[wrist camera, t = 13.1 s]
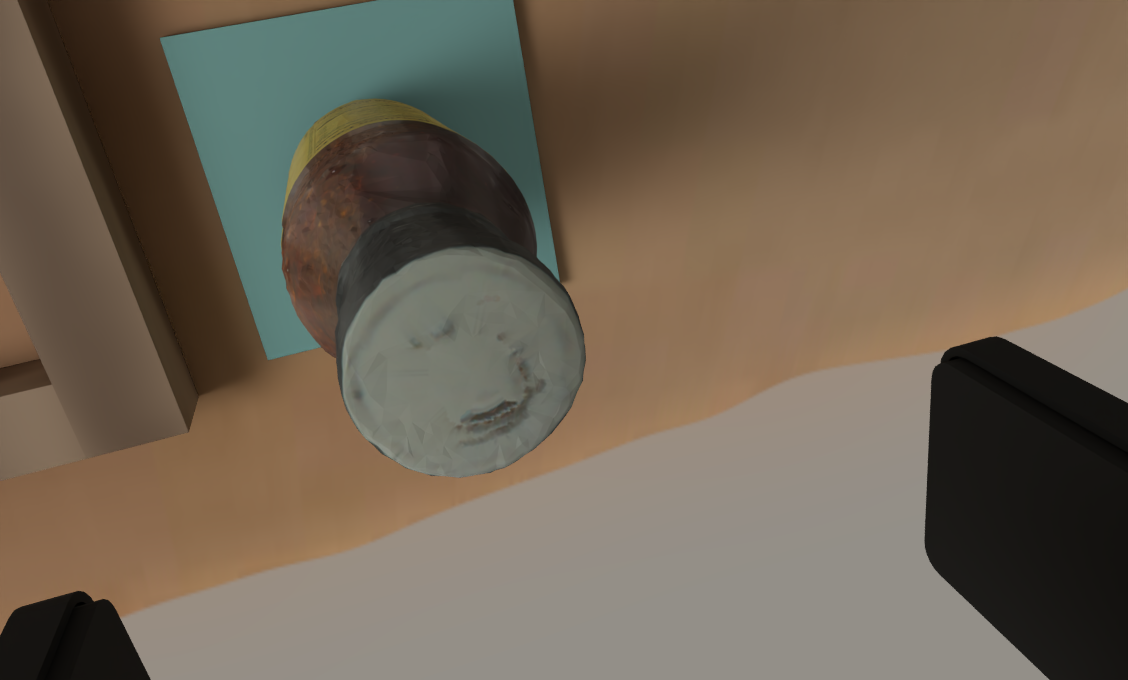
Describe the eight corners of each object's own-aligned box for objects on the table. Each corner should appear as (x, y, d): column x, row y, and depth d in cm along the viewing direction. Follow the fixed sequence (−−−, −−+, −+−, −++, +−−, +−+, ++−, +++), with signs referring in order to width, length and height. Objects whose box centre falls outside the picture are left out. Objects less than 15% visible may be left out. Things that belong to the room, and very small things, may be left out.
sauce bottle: (447, 268, 33) (608, 571, 15) (281, 250, 31) (248, 575, 13) (472, 99, 31) (691, 225, 13) (296, 69, 29) (280, 169, 11)
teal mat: (506, -23, 30) (509, -23, 30) (557, 284, 35) (560, 287, 35) (162, 37, 28) (159, 38, 28) (268, 355, 33) (267, 360, 33)
